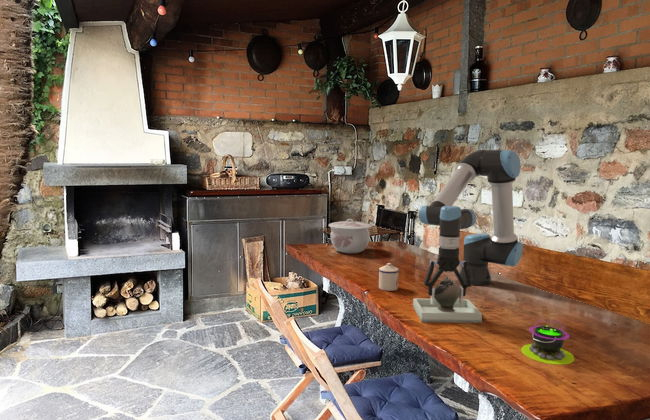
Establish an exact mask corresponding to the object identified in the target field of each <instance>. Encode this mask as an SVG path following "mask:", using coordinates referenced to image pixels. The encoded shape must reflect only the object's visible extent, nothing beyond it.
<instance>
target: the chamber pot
mask: <svg viewBox="0 0 650 420" xmlns="http://www.w3.org/2000/svg"><path fill="white" fill-rule="evenodd" d="M328 227H329V228H330V235H329V236H330V241H331V244H332V246H333V247H334V249H335V251H337V252H339V253H342V254H351V255H354V254H359V253H362V252H364V251H365V250H366V248H367V246H368V245H369V241H370V236H371V235H370V231H369V229H371V228H373V225H372V224H371V223H367V222H364V221H357V220H356V221H355V220H354V219H352V218H347V219H346V220H344V221H343V220H342V221H341V220H340V221H335V222H331V223H329V224H328Z"/></svg>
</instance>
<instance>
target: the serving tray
mask: <svg viewBox="0 0 650 420" xmlns="http://www.w3.org/2000/svg"><path fill="white" fill-rule="evenodd" d="M430 300H431V298H418V297H417V298H413V299H412V301H413V302H412V308H413V309H414V311H415V312H416V315H417V317H418V318H419V321H420V322H421V323H448V324H449V323H451V324H452V323H453V324H454V323H458V324H459V323H461V324H464V323H465V324H482V323H483V321H482V319H483V313H482V312H481V310H479V309H478V308H477V307H476V306H475V304H474V303H472V302H471V301H470V299H468V298H467V299H466V298H465V299H464V298H463V305H460V304H459V298H458V299H457V301H456V302H455V304H454V305H453V307H454V308H453V309H454V310H455V311H454V312H446V311H441V310H439V309H438V307H439V306H441V305H440V304H439V303H438V302H437V301H436V300H435V298H434V305H432V304H431V303H430Z"/></svg>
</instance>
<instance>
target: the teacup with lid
mask: <svg viewBox="0 0 650 420" xmlns="http://www.w3.org/2000/svg"><path fill="white" fill-rule="evenodd" d="M378 271H379V272H378V288H379V289H380V290H382V291H386V292H388V291H393V292H394V291H396V290H398V288H399V272H400V270H399V268H398V267H395V266H394V265H393V264H392V263H391V262H388V263H386V265H384V266H381V267H379V269H378Z"/></svg>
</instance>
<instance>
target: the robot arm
mask: <svg viewBox="0 0 650 420" xmlns="http://www.w3.org/2000/svg"><path fill="white" fill-rule="evenodd" d="M521 164H522V163H521V159H520V157H519V154H518V153H517V152H516V151H515V150H512V149H511V150H509V149H478V150H475V151H473V152H471V153H469V154H467V155H465V157H463V158H462V159H461V160H460V161H459V162H458V163H457V164H456V165H455V167H454V172H453V173H452V175H451V176H450V177H449V179H448V181H447V182H446V183H445V184H444V185H443V187H442V188H441V190H440V191H439V193H438V194H437V195H436V196H435V198H434V199H433V201H432V202H431V203H430V205H422V206H421V207H420V208H419V210H418V216H417V217H418V220H419V222H420V223H421V224H424V225H429V226H439V234H438V235H439V237H438V246H439V247H438V253H437V254H438V255H437V257H438V258H437V260H433V259H430V260H429V266H428V270H427V272H426V274H425V277H424V280H423V284H424V286H425V287H427V289H428V292H427V293H428V296H430V299H431V300H430V303H431V304H432V305H434V299H435V298H434V291H435V288H436V287H434V286H435V285H436V283H437V281H438V280H439V278H440V276H441V275H442V274H443V273H444V272H446V273H447V272H451V273H454V275H455V276H456V279H457V280H458V283H459V284H460V285H461V286H459V287H460V290H461V294H460V296H459V297H458V299H459V304H460V305H463V299H464V297H466V295H467V293H466V291H467V288H470V287H472V285H473V286H487V285H490V284H491V283H492V277H491V272H490V270H489V269H490V268H489V263H490V264H496V265H500V266H505V267H507V266H509V267H515V266H517V265H518V264H519V263H520V261H521V258H522V256H523V251H524V244H523V242H522V241H520V240H518V239H519V237H518V235H517V234H515V228H514V226H515V225H514V224H515V223H514V202H513V197H514V196H513V184H514V182H516V180H517V179H516V178H518V177H519V176H520V175H521V167H522V166H521ZM481 176H482V177H487V183H489V184H490V185H491V199H492V200H491V202H492V203H491V206H492V221H493V234H492V235H490V234H489V233H473V234H472V233H471V234H467V235H466V236H465V237H464V238H463V239H464V241H463V251H462V252H463V253H462V254H463V258H462V260H460V248H459V247H460V237H461V230H464V229H465V230H466V229H469V228H471V227H473V226H474V225H475V224H476V222H477V215H476V213H475V211H474V210H472V209H470V208H461V207H460V206H457V205H454V204H455V203H456V201H457V200H458V198H459V197H460V195H461V194H462V193H463V192H464V190H465V188H466V187H467V186H468V184H469V183H470V182H471V181H473V180H474V179H475V178H476V177H481ZM437 265H438V267H437V270H436V272H435V273H434V275H433V272H434V270H435V267H436V266H437ZM459 265H460V267H461V268H460V270H458V267H459ZM459 271H460V272H459ZM432 275H433V276H432Z"/></svg>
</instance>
